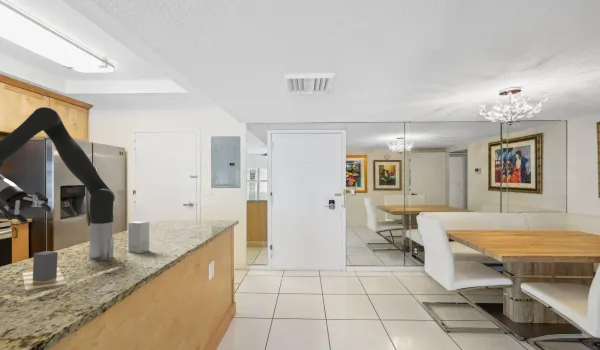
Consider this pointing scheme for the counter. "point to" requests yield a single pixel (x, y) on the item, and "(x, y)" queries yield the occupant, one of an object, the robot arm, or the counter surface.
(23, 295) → the counter surface
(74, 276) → the counter surface
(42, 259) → the block
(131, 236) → the skincare box
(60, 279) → the pine board
